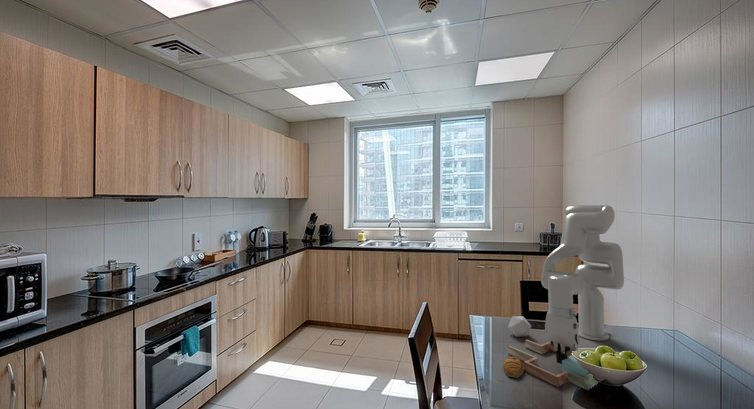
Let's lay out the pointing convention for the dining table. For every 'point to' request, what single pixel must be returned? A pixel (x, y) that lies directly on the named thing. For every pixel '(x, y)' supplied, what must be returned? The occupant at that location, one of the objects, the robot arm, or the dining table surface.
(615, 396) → the dining table surface
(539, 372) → the wooden zigzag track
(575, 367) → the teal block
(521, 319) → the die
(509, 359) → the pastry
